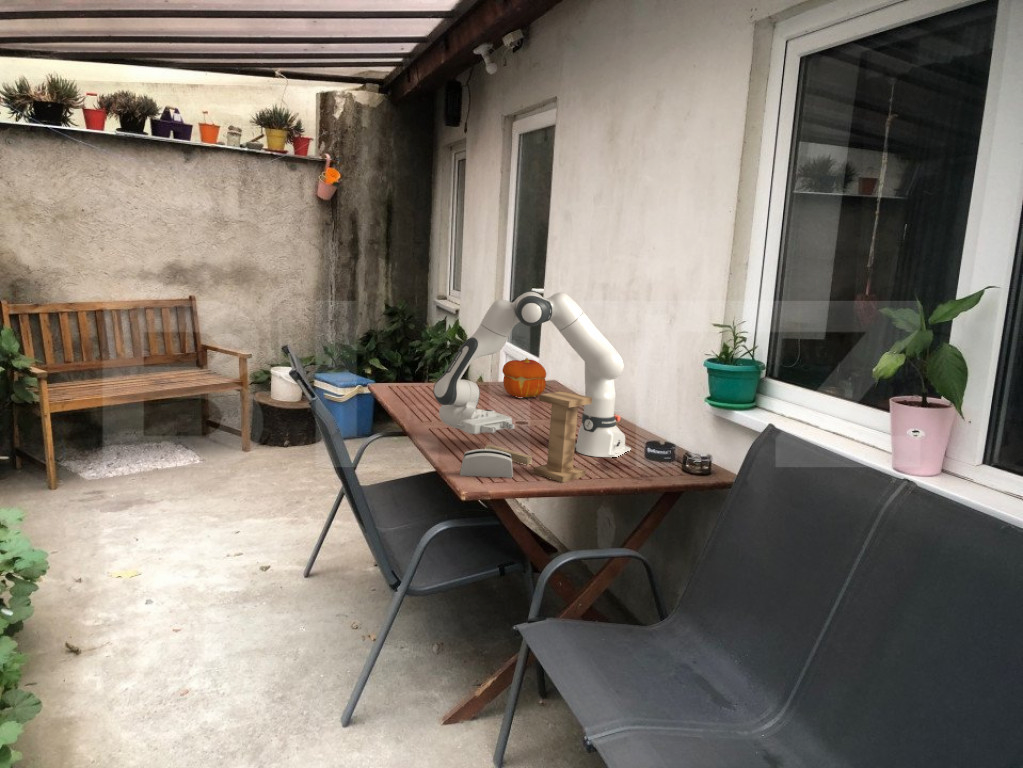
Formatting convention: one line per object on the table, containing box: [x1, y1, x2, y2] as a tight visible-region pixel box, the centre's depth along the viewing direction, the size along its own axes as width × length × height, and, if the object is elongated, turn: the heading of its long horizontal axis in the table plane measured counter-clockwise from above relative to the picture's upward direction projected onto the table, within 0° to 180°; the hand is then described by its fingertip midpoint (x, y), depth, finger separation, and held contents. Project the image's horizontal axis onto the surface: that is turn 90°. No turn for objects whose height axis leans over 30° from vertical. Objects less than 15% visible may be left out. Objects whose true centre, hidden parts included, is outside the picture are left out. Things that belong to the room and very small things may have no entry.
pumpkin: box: [502, 357, 547, 398], centre depth 364 cm, size 23×23×20 cm
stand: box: [532, 391, 592, 484], centre depth 233 cm, size 12×12×26 cm
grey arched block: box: [459, 448, 514, 479], centre depth 228 cm, size 17×5×10 cm, turn 93°
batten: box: [484, 444, 533, 466], centre depth 249 cm, size 2×19×3 cm, turn 50°
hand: (503, 428), depth 250 cm, fingers open, 8 cm apart
